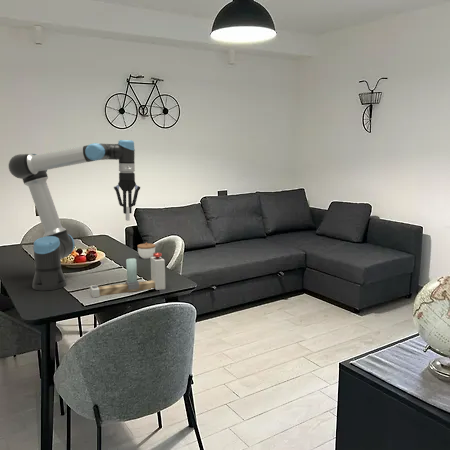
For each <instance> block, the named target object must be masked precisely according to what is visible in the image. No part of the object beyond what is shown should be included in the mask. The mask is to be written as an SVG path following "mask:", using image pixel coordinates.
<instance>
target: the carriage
mask: <svg viewBox="0 0 450 450" xmlns="http://www.w3.org/2000/svg"><path fill="white" fill-rule="evenodd" d="M125 263H126V265H125V267H126V280H125V282H124V284H127V285H128V290H131V289H139V282H140V281H138V271H137V270H138V267H137V258H134V257H133V258H127V259H126V260H125Z"/></svg>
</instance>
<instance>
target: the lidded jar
mask: <svg viewBox="0 0 450 450" xmlns="http://www.w3.org/2000/svg"><path fill="white" fill-rule="evenodd" d="M137 252H138V255H139V256H140V258H141V259H144V260H145V259H147V260H148V259H151V257H154V256H153V253H156V244H155V243H149V242H147V241H146V242H145V243H140V244H137Z"/></svg>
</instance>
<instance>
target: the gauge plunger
mask: <svg viewBox="0 0 450 450" xmlns="http://www.w3.org/2000/svg"><path fill="white" fill-rule="evenodd" d="M152 257H155V260H159V259H160V257H163V256H162V252H155V253H153V256H152Z"/></svg>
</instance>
